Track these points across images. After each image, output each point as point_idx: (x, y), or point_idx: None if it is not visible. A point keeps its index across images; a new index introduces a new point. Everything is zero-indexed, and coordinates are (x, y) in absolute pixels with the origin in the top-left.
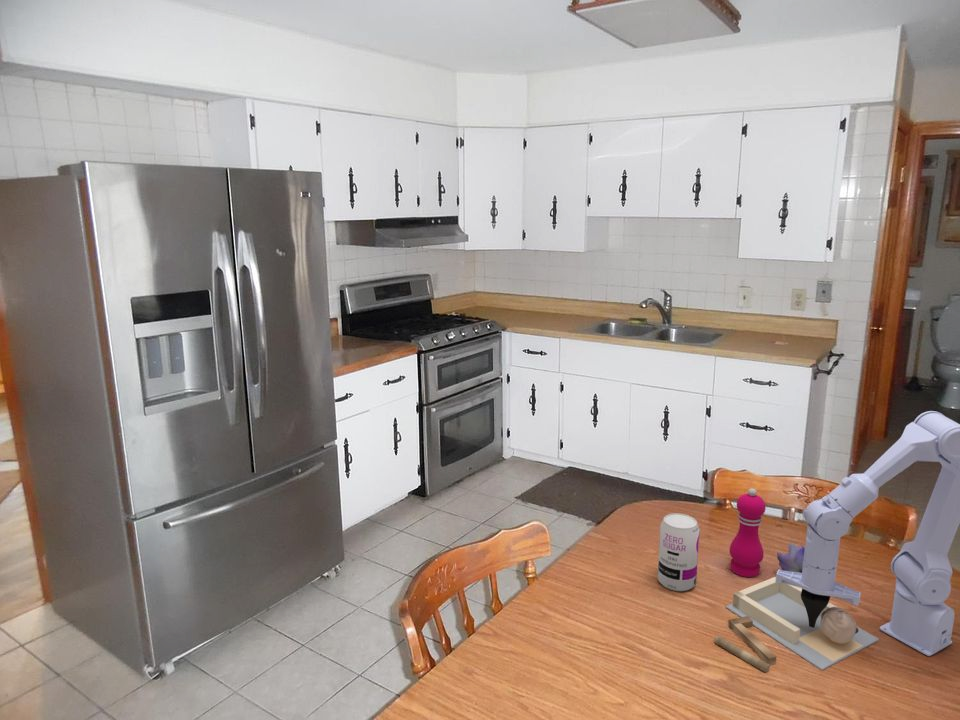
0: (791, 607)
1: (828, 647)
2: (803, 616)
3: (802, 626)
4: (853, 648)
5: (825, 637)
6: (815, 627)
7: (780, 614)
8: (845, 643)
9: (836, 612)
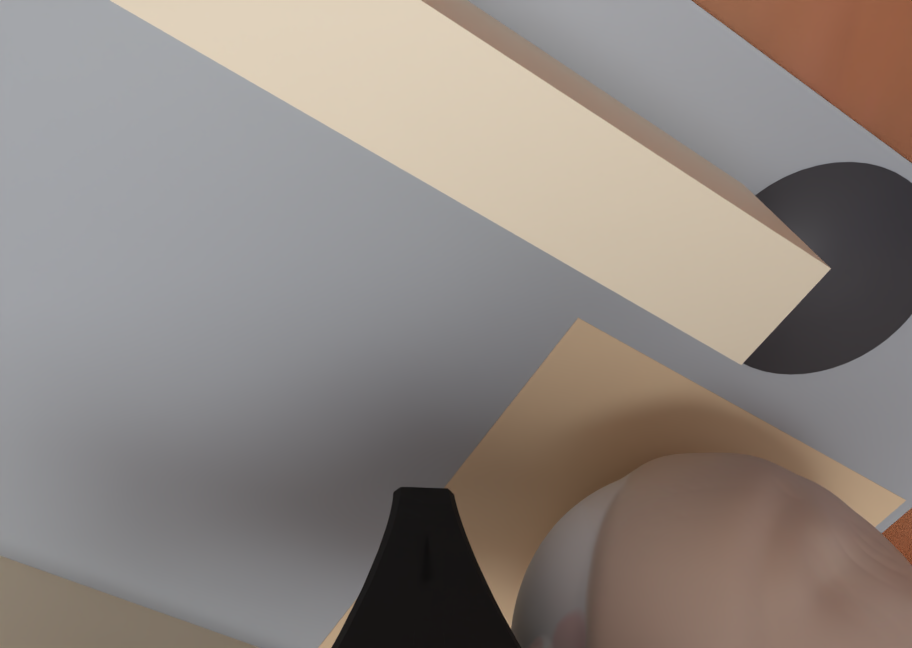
0: (101, 145)
1: None
2: (296, 285)
3: (324, 470)
4: None
5: None
6: (454, 430)
7: (43, 368)
8: None
9: None
